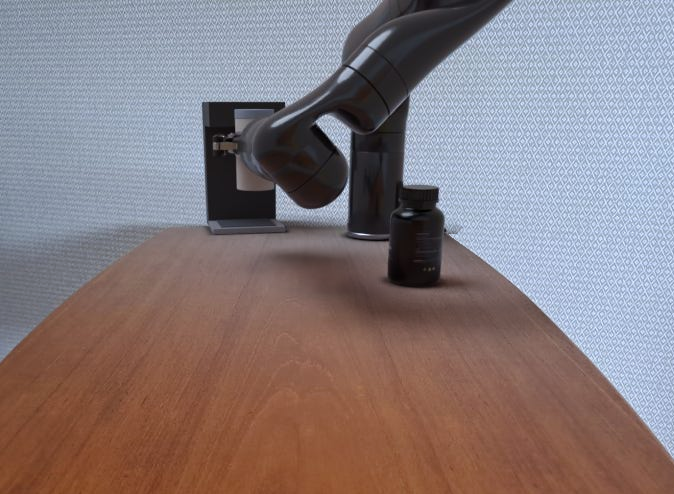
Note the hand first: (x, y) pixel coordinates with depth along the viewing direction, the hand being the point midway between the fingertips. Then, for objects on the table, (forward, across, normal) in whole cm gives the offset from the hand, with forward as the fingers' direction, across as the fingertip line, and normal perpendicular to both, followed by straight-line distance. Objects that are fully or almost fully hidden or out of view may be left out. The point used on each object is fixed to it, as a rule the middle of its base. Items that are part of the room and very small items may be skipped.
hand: (252, 141), depth 100 cm
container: (-3, 0, -6) cm, 7 cm away
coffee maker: (+22, +2, -17) cm, 28 cm away
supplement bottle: (-23, +17, -16) cm, 33 cm away
